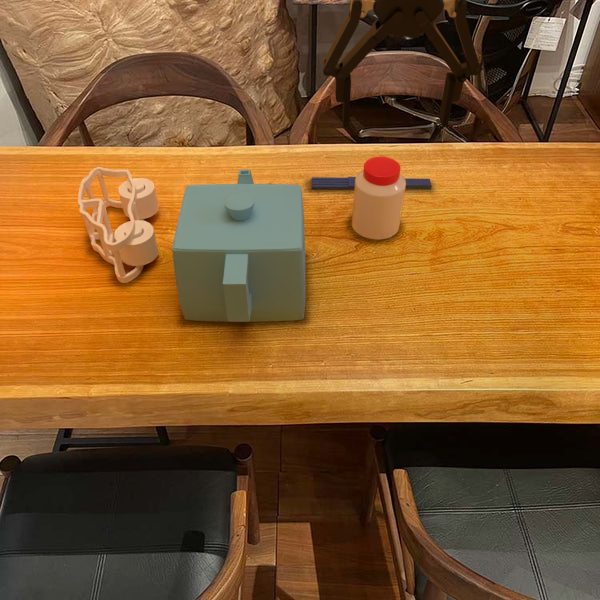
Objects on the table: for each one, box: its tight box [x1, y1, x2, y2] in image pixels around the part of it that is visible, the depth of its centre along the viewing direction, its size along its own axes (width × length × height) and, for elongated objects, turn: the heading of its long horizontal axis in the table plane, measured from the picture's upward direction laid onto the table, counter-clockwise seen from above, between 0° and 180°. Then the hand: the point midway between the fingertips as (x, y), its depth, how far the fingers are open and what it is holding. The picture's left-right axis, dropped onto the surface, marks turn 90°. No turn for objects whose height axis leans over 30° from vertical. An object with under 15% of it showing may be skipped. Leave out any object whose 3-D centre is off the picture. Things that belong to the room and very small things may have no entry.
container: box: [171, 169, 307, 323], centre depth 80 cm, size 17×25×15 cm
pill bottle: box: [351, 156, 406, 241], centre depth 91 cm, size 8×8×11 cm
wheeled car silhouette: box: [77, 166, 160, 284], centre depth 90 cm, size 20×11×7 cm, turn 9°
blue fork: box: [310, 176, 432, 190], centre depth 102 cm, size 21×3×1 cm, turn 89°
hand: (394, 122), depth 82 cm, fingers open, 13 cm apart
